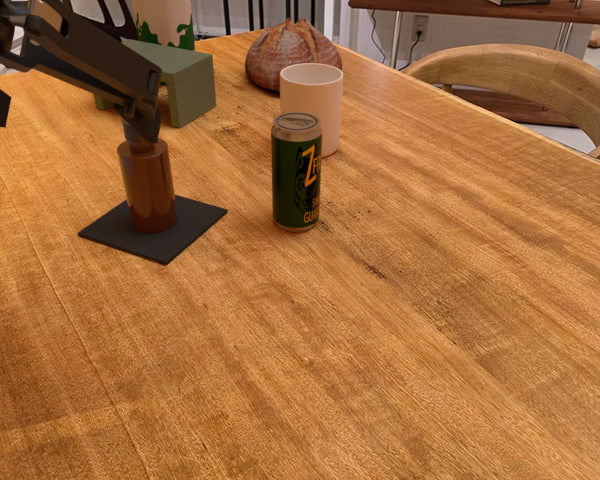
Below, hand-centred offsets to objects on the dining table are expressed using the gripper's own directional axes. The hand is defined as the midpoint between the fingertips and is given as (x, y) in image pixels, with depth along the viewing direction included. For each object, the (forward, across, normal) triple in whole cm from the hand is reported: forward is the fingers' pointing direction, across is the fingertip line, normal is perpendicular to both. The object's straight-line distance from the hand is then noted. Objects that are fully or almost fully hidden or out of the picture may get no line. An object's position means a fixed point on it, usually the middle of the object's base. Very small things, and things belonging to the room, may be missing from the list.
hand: (78, 119), depth 49 cm
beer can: (+22, +16, -2) cm, 27 cm away
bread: (+55, +5, +31) cm, 63 cm away
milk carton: (+51, -16, +28) cm, 60 cm away
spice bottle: (+19, 0, -4) cm, 19 cm away
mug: (+37, +13, +14) cm, 42 cm away
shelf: (+42, -13, +19) cm, 48 cm away
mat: (+19, 0, -4) cm, 20 cm away
